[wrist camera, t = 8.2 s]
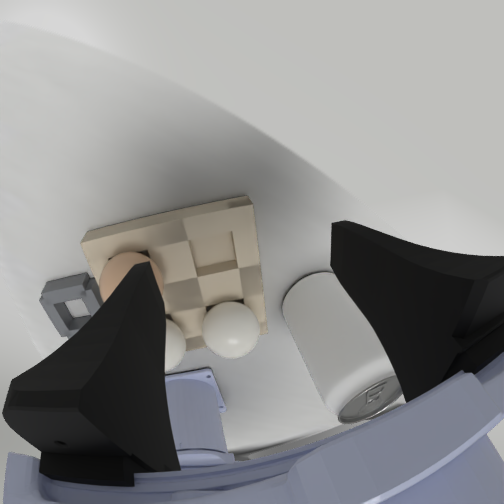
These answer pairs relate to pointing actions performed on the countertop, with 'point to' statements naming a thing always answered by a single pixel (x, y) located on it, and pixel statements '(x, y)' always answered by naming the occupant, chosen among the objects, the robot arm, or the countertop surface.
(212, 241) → the carton
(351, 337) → the can
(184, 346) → the white egg
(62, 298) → the egg stand
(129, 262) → the brown egg
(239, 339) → the white egg
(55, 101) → the countertop surface
